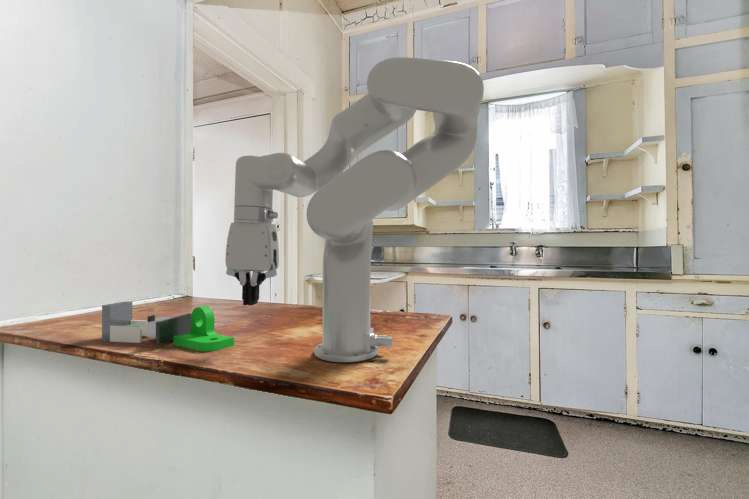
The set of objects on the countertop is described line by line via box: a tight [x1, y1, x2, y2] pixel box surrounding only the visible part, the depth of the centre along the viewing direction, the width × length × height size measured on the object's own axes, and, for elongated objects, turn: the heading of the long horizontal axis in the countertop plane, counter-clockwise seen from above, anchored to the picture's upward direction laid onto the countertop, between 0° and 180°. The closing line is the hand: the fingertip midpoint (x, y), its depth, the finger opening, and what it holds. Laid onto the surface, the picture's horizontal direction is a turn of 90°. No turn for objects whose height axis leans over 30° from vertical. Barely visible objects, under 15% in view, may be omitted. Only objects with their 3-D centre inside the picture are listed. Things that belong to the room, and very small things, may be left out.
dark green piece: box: [146, 312, 192, 346], centre depth 77 cm, size 7×10×5 cm, turn 172°
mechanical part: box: [172, 305, 235, 352], centre depth 74 cm, size 12×6×8 cm, turn 61°
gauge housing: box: [101, 301, 147, 344], centre depth 79 cm, size 9×6×8 cm, turn 82°
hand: (250, 304), depth 72 cm, fingers closed
